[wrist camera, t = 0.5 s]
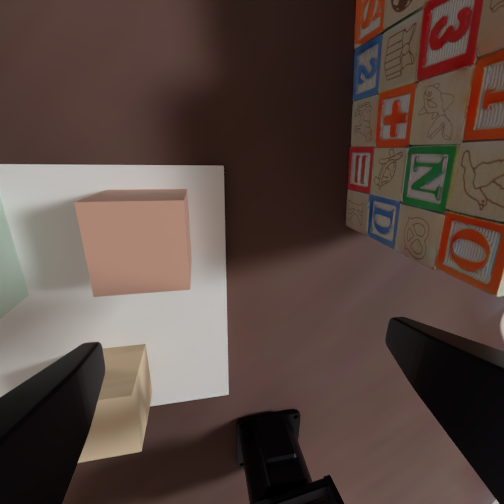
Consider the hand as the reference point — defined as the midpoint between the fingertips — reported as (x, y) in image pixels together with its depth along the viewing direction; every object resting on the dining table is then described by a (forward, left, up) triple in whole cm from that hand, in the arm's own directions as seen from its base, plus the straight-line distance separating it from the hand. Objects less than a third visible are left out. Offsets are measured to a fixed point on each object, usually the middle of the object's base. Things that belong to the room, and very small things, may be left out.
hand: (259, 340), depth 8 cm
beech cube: (-11, +9, -12) cm, 19 cm away
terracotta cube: (+1, +5, -12) cm, 13 cm away
